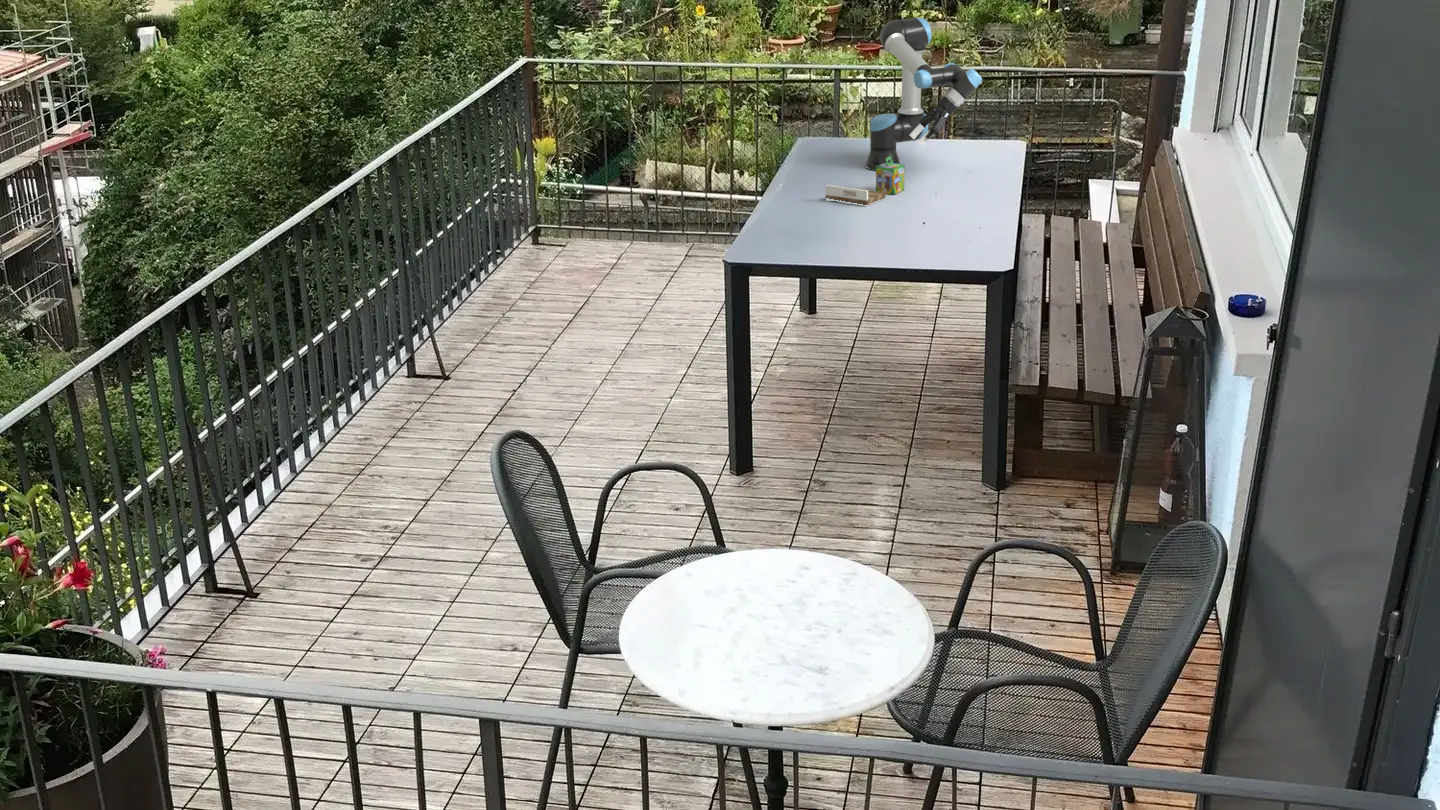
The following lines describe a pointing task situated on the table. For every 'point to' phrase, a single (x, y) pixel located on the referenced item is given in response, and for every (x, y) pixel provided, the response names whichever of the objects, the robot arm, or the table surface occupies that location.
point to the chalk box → (890, 177)
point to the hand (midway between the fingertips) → (915, 140)
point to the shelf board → (853, 194)
